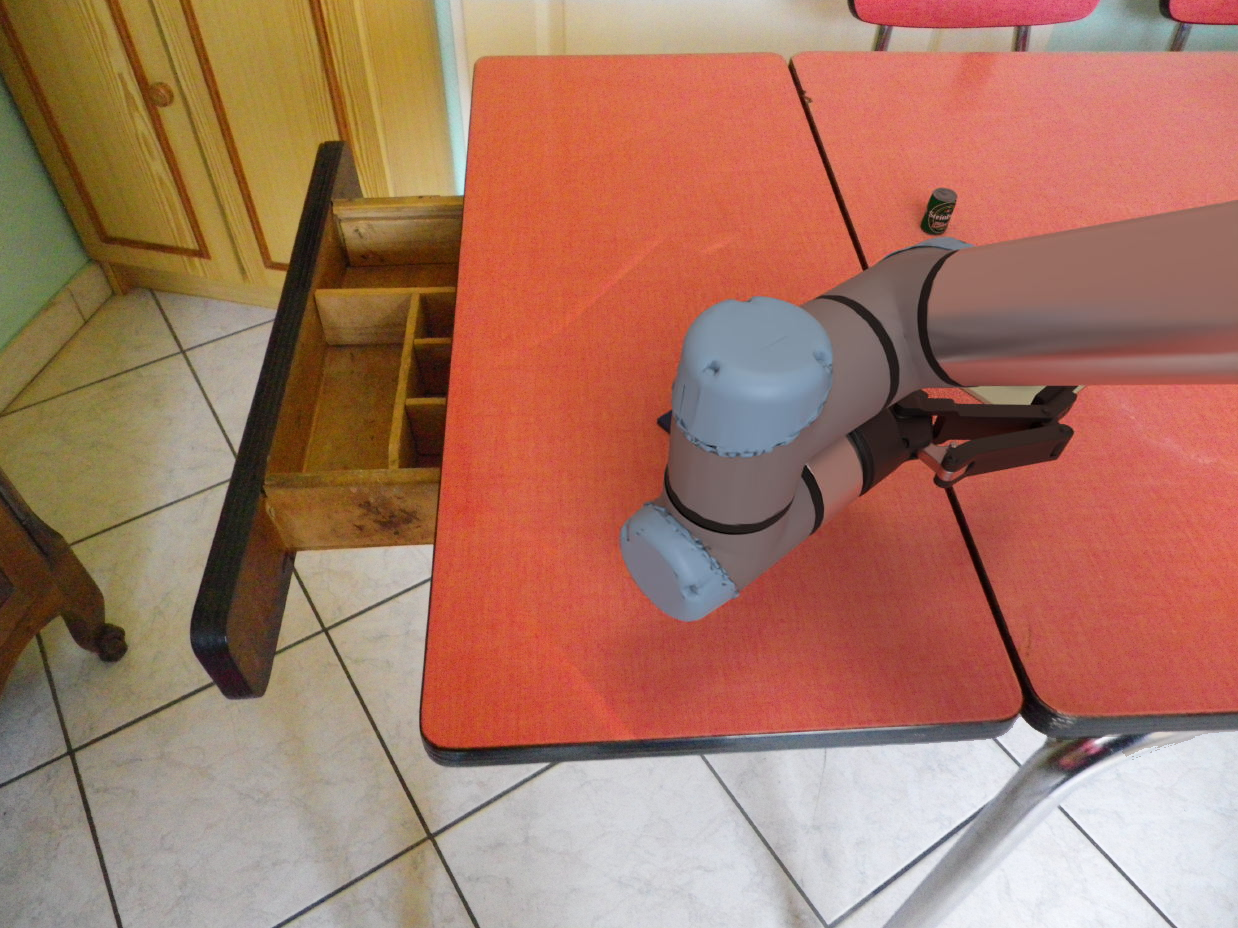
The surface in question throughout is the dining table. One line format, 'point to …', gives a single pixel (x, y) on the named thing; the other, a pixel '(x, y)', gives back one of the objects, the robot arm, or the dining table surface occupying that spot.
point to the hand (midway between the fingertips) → (1001, 324)
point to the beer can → (939, 211)
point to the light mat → (1007, 394)
